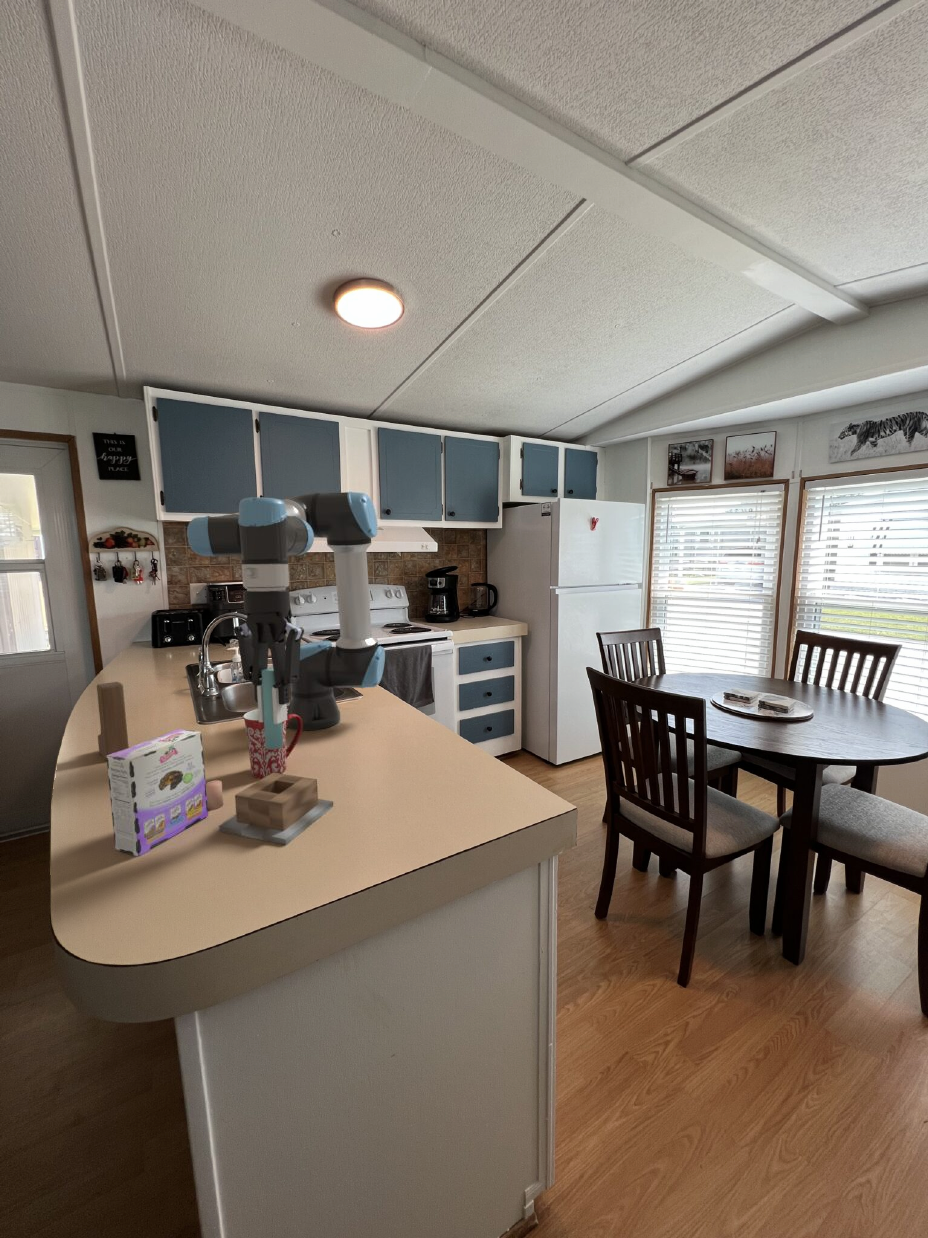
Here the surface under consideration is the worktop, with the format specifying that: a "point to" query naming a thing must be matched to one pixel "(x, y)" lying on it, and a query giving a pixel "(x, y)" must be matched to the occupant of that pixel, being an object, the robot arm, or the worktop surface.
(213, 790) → the light brown oval shape
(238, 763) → the worktop surface
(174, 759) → the candy box
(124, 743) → the wooden block
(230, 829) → the square wooden frame
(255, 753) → the mug
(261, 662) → the robot arm
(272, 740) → the long pin
